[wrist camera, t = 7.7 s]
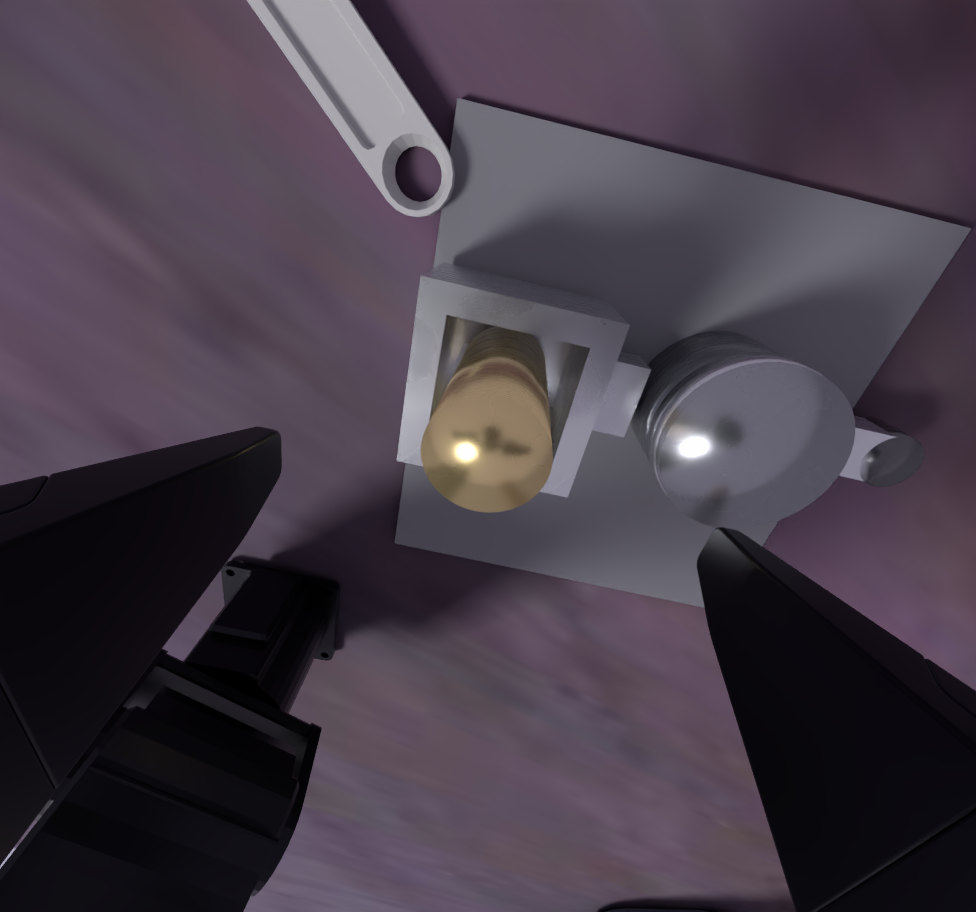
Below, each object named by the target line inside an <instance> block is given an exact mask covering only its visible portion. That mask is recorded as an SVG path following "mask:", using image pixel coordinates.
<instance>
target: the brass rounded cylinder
mask: <svg viewBox="0 0 976 912" xmlns="http://www.w3.org/2000/svg"><path fill="white" fill-rule="evenodd" d="M421 460H422V465H423V468H424V471H425V473H426V475H427V477H428V479H429V481H430V482H431V483H432V485H433V486H434V487H435V489H436V490H437V491H438V492H439V493H440V494H442V495H443V496H444V497H445V498H447V499H448V500H449V501H451V502H453V503H455V504H456V505H458V506H461V507H463V508H466V509H469V510H473V511H478V512H489V513H491V512H502V511H507V510H511V509H514V508H516V507H519V506H521V505H523V504H525V503H526V502H528V501H529V500H531V499H532V498H533V497H534V496H536V495H537V494H538V493H539V492H540V490H541V489H542V488H543V486H544V485H545V483H546V481H547V480H548V477H549V475H550V472H551V468H552V463H553V450H552V438H551V425H550V413H549V400H548V388H547V375H546V363H545V356H544V353H543V350H542V348H541V346H540V344H539V343H538V342H537V340H536V339H535V338H534V337H533V336H532V335H531V334H528V333H523V332H519V331H515V330H510V329H506V328H502V327H497V326H493V327H490V328H487V329H485V330H483V331H482V332H480V333H479V334H478V335H476V336H475V337H474V338H473V340H472V341H471V342H470V344H469V346H468V347H467V349H466V351H465V353H464V355H463V357H462V359H461V361H460V363H459V365H458V367H457V369H456V371H455V373H454V374H453V376H452V378H451V380H450V382H449V384H448V386H447V388H446V390H445V392H444V394H443V396H442V398H441V400H440V402H439V404H438V406H437V407H436V409H435V411H434V413H433V415H432V417H431V419H430V421H429V423H428V425H427V427H426V429H425V431H424V434H423V437H422V442H421Z"/></svg>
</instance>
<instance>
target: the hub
mask: <svg viewBox="0 0 976 912" xmlns="http://www.w3.org/2000/svg"><path fill="white" fill-rule="evenodd" d="M648 366H649V367H650V368H651V372H650V374H649V377H648V379H647V382H646V384H645V387H644V389H643V392H642V394H641V397H640V399H639V402H638V404H637V407H636V409H635V411H634V414H633V416H632V419H631V425H632V428H633V431H634V433H635V435H636V437H637V439H638V441H639V443H640V445H641V447H642V449H643V451H644V453H645V454H646V456H647V458H648V460H649V462H650V466H651V468H652V470H653V473H654V475H655V476H656V478H657V480H658V482H659V484H660V486H661V488H662V489H663V491H664V492H665V494H666V495H667V496H668V498H669V499H670V500H671V502H672V503H673V504H674V505H675V506H676V507H677V509H679V510H680V511H681V512H682V513H684V514H685V515H686V516H688V517H690V518H691V519H693V520H695V521H698V522H700V523H702V524H706V525H709V526H713V527H725V528H730V529H740V528H751V527H758V526H762V525H766V524H770V523H773V522H776V521H779V520H781V519H784V518H786V517H788V516H790V515H793V514H794V513H796V512H798V511H800V510H802V509H803V508H805V507H806V506H808V505H809V504H811V503H812V502H814V501H815V500H816V499H817V498H818V497H820V496H821V495H822V494H823V493H824V492H825V491H826V490H827V489H828V488H829V487H830V486H831V485H832V484H833V483H834V481H835V480H836V479H837V477H838V476H839V475H840V473H841V472H842V470H843V468H844V467H845V465H846V463H847V461H848V459H849V457H850V454H851V451H852V448H853V444H854V439H855V419H854V414H853V410H852V408H851V406H850V403H849V401H848V400H847V398H846V397H845V395H844V394H843V392H842V391H841V390H840V389H839V388H838V387H837V386H836V385H835V384H833V383H832V382H831V381H829V380H828V379H827V378H826V377H824V376H823V375H822V374H820V373H819V372H817V371H815V370H813V369H812V368H810V367H808V366H806V365H804V364H802V363H800V362H798V361H796V360H794V359H792V358H790V357H787V356H784V355H781V354H779V353H778V352H776V351H774V350H772V349H770V348H768V347H766V346H764V345H762V344H761V343H759V342H757V341H755V340H753V339H751V338H749V337H747V336H745V335H741V334H738V333H734V332H728V331H711V332H703V333H699V334H695V335H692V336H689V337H686V338H684V339H682V340H679V341H677V342H675V343H674V344H672V345H670V346H669V347H667V348H666V349H664V350H663V351H662V352H661V353H659V354H658V355H657V356H656V357H655V358H654V359H653V360H652V361H651V362H650V363H649V364H648Z"/></svg>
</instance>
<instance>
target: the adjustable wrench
mask: <svg viewBox="0 0 976 912" xmlns="http://www.w3.org/2000/svg"><path fill="white" fill-rule="evenodd" d="M247 1H248V3H249V4H250V5H251V7H252V8H253V10H254V11H255V13H256V14H257V15H258V17H259V18H260V20H261V21H262V23H263V24H264V25H265V27H266V28H267V30H268V31H269V33H270V34H271V35H272V37H273V38H274V40H275V41H276V43H277V44H278V45H279V47H280V48H281V50H282V51H283V53H284V54H285V55H286V57H287V58H288V60H289V61H290V63H291V64H292V65H293V67H294V68H295V70H296V71H297V73H298V74H299V76H300V77H301V78H302V80H303V81H304V83H305V84H306V86H307V87H308V88H309V90H310V91H311V93H312V94H313V96H314V97H315V98H316V100H317V101H318V103H319V104H320V106H321V107H322V108H323V110H324V111H325V113H326V114H327V116H328V117H329V118H330V120H331V121H332V123H333V124H334V126H335V127H336V128H337V130H338V131H339V133H340V134H341V136H342V137H343V139H344V140H345V141H346V143H347V144H348V146H349V147H350V149H351V150H352V151H353V153H354V154H355V156H356V157H357V159H358V160H359V161H360V163H361V164H362V166H363V167H364V169H365V170H366V171H367V173H368V174H369V176H370V177H371V179H372V180H373V181H374V183H375V184H376V186H377V187H378V189H379V190H380V191H381V193H382V194H383V196H384V197H385V199H386V200H387V201H388V202H389V203H390V204H391V205H392V206H393V207H394V208H395V209H396V210H398V211H400V212H402V213H403V214H405V215H409V216H415V217H424V216H429V215H434V214H436V213H437V212H439V211H440V210H442V208H443V207H444V205H445V204H446V203H447V202H448V200H449V199H450V196H451V194H452V191H453V189H454V182H455V170H454V164H453V159H452V157H451V155H450V151H449V149H448V147H447V146H446V144H445V143H444V141H443V140H442V138H441V137H440V135H439V134H438V132H437V131H436V129H435V128H434V126H433V125H432V123H431V122H430V120H429V119H428V117H427V116H426V114H425V113H424V111H423V109H422V108H421V106H420V105H419V103H418V102H417V100H416V99H415V97H414V96H413V94H412V93H411V91H410V90H409V88H408V87H407V85H406V84H405V82H404V81H403V79H402V78H401V76H400V75H399V73H398V72H397V70H396V68H395V67H394V65H393V64H392V62H391V61H390V59H389V58H388V56H387V55H386V53H385V52H384V50H383V49H382V47H381V46H380V44H379V43H378V41H377V40H376V38H375V37H374V35H373V34H372V32H371V31H370V29H369V27H368V26H367V24H366V23H365V21H364V20H363V18H362V17H361V15H360V14H359V12H358V11H357V9H356V8H355V6H354V5H353V3H352V2H351V0H247ZM414 146H420V147H424V148H426V149H428V150H430V151H431V152H432V153H433V154H434V155H435V156H436V158H437V160H438V162H439V164H440V166H441V172H442V180H441V185H440V187H439V190H438V192H437V193H436V194H435V195H434V197H432V198H431V199H429V200H427V201H422V202H418V201H413V200H411V199H409V198H407V197H406V196H405V195H404V194H403V193H402V192H401V190H400V188H399V186H398V185H397V182H396V177H395V166H396V163H397V160H398V158H399V156H400V155H401V153H402V152H403V151H405V150H406V149H408V148H409V147H414Z"/></svg>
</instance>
